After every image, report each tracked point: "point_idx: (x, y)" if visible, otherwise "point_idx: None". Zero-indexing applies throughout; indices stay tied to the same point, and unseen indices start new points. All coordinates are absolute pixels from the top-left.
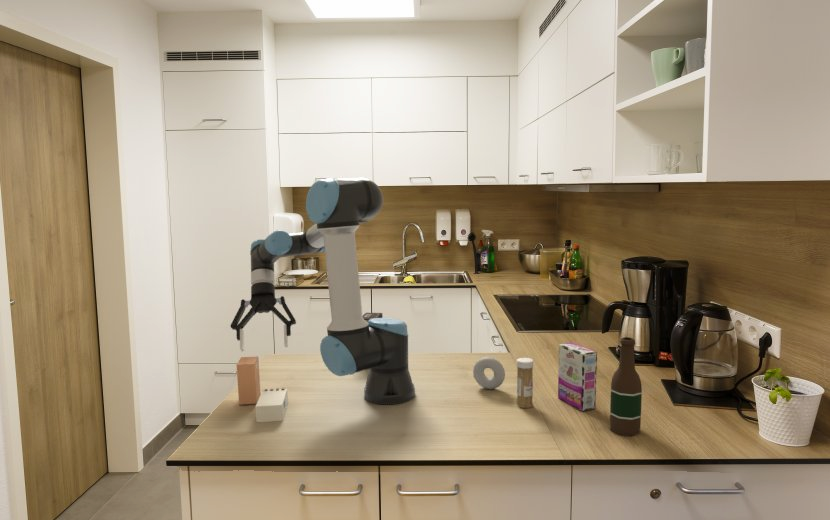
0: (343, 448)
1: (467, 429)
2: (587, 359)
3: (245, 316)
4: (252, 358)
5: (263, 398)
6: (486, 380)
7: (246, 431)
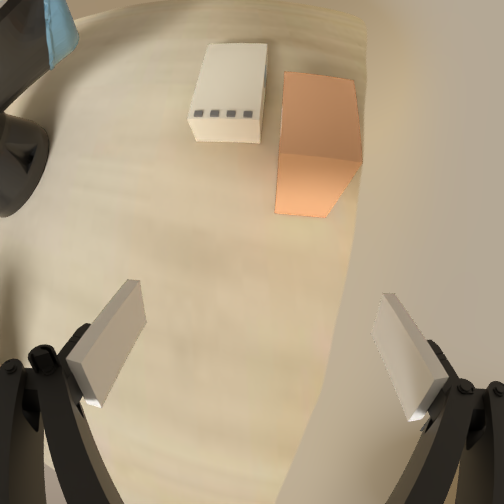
0: (142, 13)
1: None
2: None
3: (449, 474)
4: (304, 130)
5: (252, 72)
6: None
7: (282, 45)
